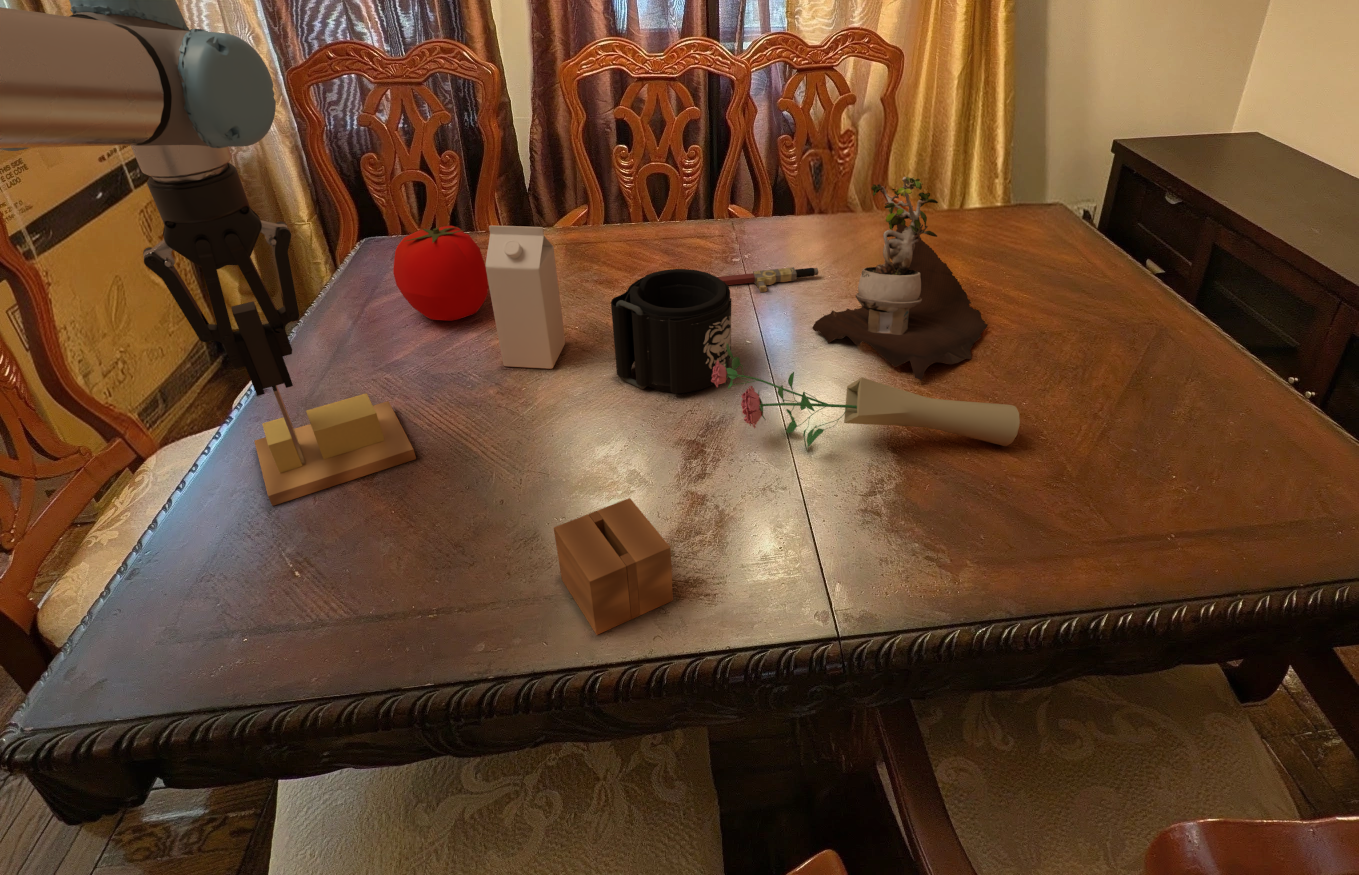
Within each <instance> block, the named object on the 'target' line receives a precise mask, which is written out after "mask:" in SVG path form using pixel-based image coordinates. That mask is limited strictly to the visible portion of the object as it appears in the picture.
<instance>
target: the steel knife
mask: <svg viewBox="0 0 1359 875" xmlns="http://www.w3.org/2000/svg"><path fill="white" fill-rule="evenodd" d="M230 308H231V309H230V310H231V312H232V316H233V318H234V321H235V324H236V326H237V329H238V331H240V333H241V336H242V338H243V340H244V343H245V345H246V348H247V350H248V353H249V355H250V358H251V360H252V363H253V365H254V368H255V370H256V373H257V375H258V378H259V380H260V383H261V385H262V388H263V390H266V389H270V388H272V391H273V394H274V397H275V399H276V402H277V404H278V407H279V409H280V412H281V415H282V418H283V417H284V420H285V422H286V425H287V427H288V430H289V432H290V435H291V437H292V440H293V442H294V445H295V447H296V450H297V452H298V455H299V457H300V460H301V462H302V465H303V464H306V462H305V459H304V456H303V453H302V450H301V447H300V444H299V441H298V438H297V436H296V433H295V431H294V429H295V427H294V426H293V423H292V421H291V418H290V415H289V413H288V410H287V408H286V405H285V402H284V400H283V398H282V395H281V393H280V390H279V388H278V386H280V385H283V384H284V381H283V379H282V376H281V374H280V371H279V368H278V366H277V363H276V360H275V358H274V355H273V352H272V350H271V347H270V344H269V342H268V339H267V337H266V333H265V330H264V327H263V325H264V324H263V322H262V319H261V316H260V314H259V312H258V308H257V306H256V303H255V301H248V302H245V303H241V304H236V305H231V306H230ZM284 385H285V384H284Z"/></svg>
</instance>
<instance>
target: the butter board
mask: <svg viewBox="0 0 1359 875" xmlns="http://www.w3.org/2000/svg"><path fill="white" fill-rule="evenodd" d="M372 405H373V407H374V409H375V411H376V413H377V417H378V420H379V423H380V426H381V430H382V433H383V436H384V440H385V441H382V442H378V443H375V444H372V445H369V446H366V447H362V448H359V449H356V450H353V451H350V452H346V453H343V454H340V455H337V456H334V457H330V458H327V459H323V457H322V454H321V451H320V448H319V446H318V443H317V440H316V437H315V435H314V432H313V429H312V426H311V424H310V423H308V424H306V425H302V426H299V427H296V428H295V427H294V431H295V433H296V436H297V438H298V441H299V444H300V447H301V450H302V453H303V456H304V459H305V462H306V464H303V466H301V467H298V468H295V469H292V470H289V471H286V472H282V473H279V470H278V468H277V466H276V463H275V461H274V459H273V456H272V454H271V451H270V449H269V447H268V443H267V440H266V436H264V437H261V438H258V439H254V445H255V449H256V453H257V458H258V461H259V466H260V470H261V474H262V478H263V481H264V485H265V489H266V493H267V497H268V500H269V502H270V504H271V506H272V507H274V506H278V505H280V504H283V503H286V502H289V501H293V500H295V499H299V498H301V497H304V496H307V495H312V494H313V493H316V492H319V491H320V492H321V491H323V490H326V489H329V488H333V487H336V486H338V485H341V484H344V483H348V482H350V481H354V480H357V479H361V478H363V477H365V476H366V477H367V476H369V475H371V474H374V473H377V472H381V471H385V470H388V469H390V468H393V467H396V466H400V465H402V464H406V463H408V462H411V461H414V460H417V456H416V453H415V449H414V447H413V444H412V443H411V441H410V438H408V436H407V434H406V432H405V429H404V428H403V426H402V424H401V422H400V420H399V419H398V416H397V414H396V412H395V410H394V408H393V406H392V405H391V403H390V401H389V400H386V401H384V402H380V403H377V404H372Z"/></svg>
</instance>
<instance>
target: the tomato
mask: <svg viewBox="0 0 1359 875" xmlns="http://www.w3.org/2000/svg"><path fill="white" fill-rule="evenodd" d="M480 248H481V247H479V246H478V244H477V243H476V242H475V241H474V239H473V238H472V236H470V234H468V233H465V231H464V229H461V228H459V226H454V225H445V226H440V227H435V228H432V229H428V228H422V229H420V230H417V231H415V232H413V233H410V234H408V235H406V236H404V237H403V238H402V240H401V241H400V242H399V243H398V245H397V246H396V248H395V251H394V260H393V271H392V272H393V276H394V280H395V285H396V287H397V288H398V290H399V292H400V293H401V295H402V296H403V298H404V299H405V300H406V301H407V302H408V303H409V305H410V306H411V307H412V308H413V309H414V310H416V311H418V313H420V314H421V315H423V316H425V317H426V318H428V319H430V320H433V321H447V322H449V321H451V322H453V321H457V320H460V319H463V318H466V317H469V316H470V317H471V316H472V315H475V314H477V312H478V311H479V310H480V309H481V307H482V306H483V305H484V303H485V301H486V299H487V297H488V293H489V283H488V278H487V272H486V266H485V265H486V262H485V261H484V256H483V255H482V251H481V249H480Z"/></svg>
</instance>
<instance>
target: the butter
mask: <svg viewBox="0 0 1359 875" xmlns="http://www.w3.org/2000/svg"><path fill="white" fill-rule="evenodd" d="M373 405H374V404H373V403H372V401H371V399H370V397H369V395H368V393H366V392H365V393H363V394H358V395H356V396H352V397H349V398H345V399H342V400H338V401H335V402H331V403H327V404H325V405H320V406H317V407H314V408H310V409H307V410H305V412H306V415H307V418H308V422H309V424H311V426H312V429H313V432H314V435H315V437H316V440H317V443H318V446H319V448H320V451H321V454H322V457H323V459H327V458H330V457H334V456H337V455H340V454H343V453H346V452H350V451H353V450H356V449H359V448H362V447H366V446H369V445H372V444H375V443H378V442H382V441H385V440H384V436H383V433H382V430H381V426H380V423H379V420H378V417H377V413H376V411H375V409H374V407H373Z"/></svg>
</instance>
